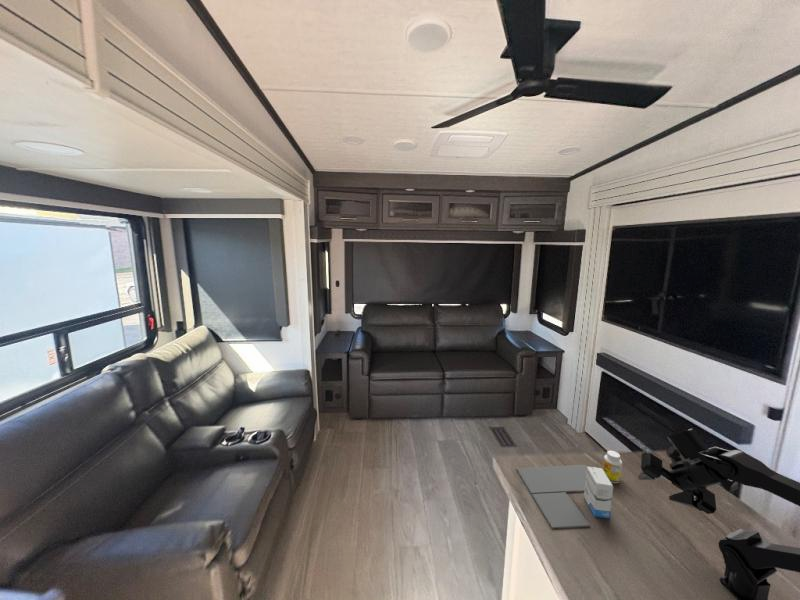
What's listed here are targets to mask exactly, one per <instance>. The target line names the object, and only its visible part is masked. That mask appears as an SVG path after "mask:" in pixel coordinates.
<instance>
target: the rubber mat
mask: <svg viewBox="0 0 800 600" xmlns="http://www.w3.org/2000/svg"><path fill="white" fill-rule="evenodd" d="M587 466H588V465H587V464H574V465H551V466H550V465H549V466H547V465H546V466H531V467H530V466H529V467H528V466H527V467H516V471H517V472H518V474H519V476H520V477H521V479H522V481H523V482H524V485H525V487H526V489H528V491H529V493H530V495H531V496H532V498H533V500H534V501H535V502H536V505H537V507H538V508H539V509H540V511H541V513H542V514H543V516H544V518H545V519H547V520H546V521H547V523H548V525H549V524H550V525H549V526H550V528H551V529H552V530H553V528H558V529H574V528H575V529H576V528H591V524H590V523H589V522H588V521H587V519H586V518H585V517H584V515H583V513H582V512H581V511H580V510H579V508H578V507H577V506H576V504H575V503H574V502H573V501H572V499H571V497H570V496H569V495H568V494H567V493H583V492H585V482H586V472H587Z"/></svg>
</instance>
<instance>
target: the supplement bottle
mask: <svg viewBox="0 0 800 600" xmlns="http://www.w3.org/2000/svg"><path fill="white" fill-rule="evenodd" d="M622 467H623V461H622V459H621V455H620V453H619V452H617V451H614V450H608V451H607V452H606V454H605V455H604V456H603V464H602V469H603V471H604V472H605V474H606V476H607V477H608V479H609V480H610V482H611V484H619V483H620V481H621V479H622V478H621V477H622Z"/></svg>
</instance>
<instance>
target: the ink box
mask: <svg viewBox="0 0 800 600" xmlns="http://www.w3.org/2000/svg"><path fill="white" fill-rule="evenodd" d="M613 493H614V486H613V483H612V482H610V480H609V479H608V477H607V476H606V474H605V472H604V471H603V467H595V466H588V465H587V472H586V482H585V492H584V493H583V494H584V495H583V497H584V499H585V502H586V503H587V505H588V507H589V509H590V511H591V513H592V514H593V517H596V518H605V519H611V512H612V511H611V510H612V501H613Z"/></svg>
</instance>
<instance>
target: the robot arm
mask: <svg viewBox="0 0 800 600" xmlns="http://www.w3.org/2000/svg"><path fill="white" fill-rule="evenodd" d="M667 439H668V440H669V442H670V443H671V444H672V446H670V447H668V448H666V449H665V454H666V456H667V457H669V458H670V461H671V463H670V464H669V468H670V469H671V470H668V469H666V468H665V467H663V460H662V459H661V458H660V457H658V456H656V455H655V454H653V453H651V452H650V451H644V452H642V453H641V463H640V469H641V472H640V473H639V474H638V476H637V477H638V480H641V481H649V480H650V481H654V480H655V479H658V478H660V477H662V478H664V480H666V481H669V483H671V484H672V485H673V486H674V487H676V488H678V489H679V490H680V492H677V493H674V494H671V495H669V496H668V499H669V501H671V502H674V503H678V504H681V505H684V506H687V507H690V508H693V509H696V510H698V511H699V512H704V513H705V514H707V515H710V514H715V513H716V512H717V511H718V510H717V501H716V495H715V493H713V492H712V491H710V490H709V489H707V488H709V487H712V486H717V485H722V486H723V487H724V489H725V490H726V491H727V492H728V493H730V492H732V491H735V490H737V489H739V486H738V485H739V484H740V485H743V486H747V487H752V488H756V489H761V490H763V491H766V492H769V493H771V494H773V495H775V496H777V497H779V498H781V499H783V500H785V501H787V502H790V503H791V504H794V505H796V506H798V507H800V482H799V481H797V480H795V479H792V478H790V477H788V476H785V475H783V474H781V473H778V472H777V471H775V470H772V469H771V468H770V467H768V466H767V465H766V464H765V463H763V462H762V460H759V459H757V458H755V457H754V456H752V455H750V454H748V453H746V452H745V451H741V450H738V449H731V450H729V449H726V448H725V449H724V448H722V447H718V446H713V447H709V446H707V444H706V443H705V442H704V441H703V440H702V439H701V438H700V436H699V435H698V433H697V432H696V430H695V429H693V428H689V429H687V430H683V431H680V432H677V433H675V434H671V435H669V436H667ZM696 459H699V460H698V461H694V460H696ZM718 548H719V550H720V552H721V554H722V557H723V561H724V564H725V569H724V577H719V582H720V583H722V584H723V585H724V586H725V588H727V589H728V590H729V591H730V592H731V593H732V595H734V596H735V598H737V600H769V594H770V590H771V586H772V585H771V583H769V581H768V580H767V579H768V578H769V577H771V576H772V575H774V574H775V573H777V572H778V570H777V569H781V570H784V571H785V570H786V571H790V572H795V573H800V547H796V546H791V545H784V544H783V545H782V544H777V543H771V542H769V541H767V540H765V539H764V538H762V537H761V534H760V532H759V531H754V530H753V531H750V530H749V531H748V530H744V529H743V528H739V529H736V530H735V531H733V532H731V533H729V534H727V535H725V536H724V537H723V538H722V539H720V540H719V541H718Z"/></svg>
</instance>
